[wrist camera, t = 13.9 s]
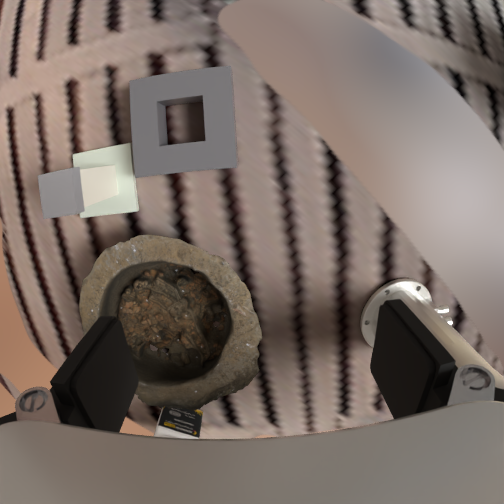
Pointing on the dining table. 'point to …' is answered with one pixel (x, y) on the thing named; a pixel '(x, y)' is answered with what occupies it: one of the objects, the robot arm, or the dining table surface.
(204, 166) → the grey square ring
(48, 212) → the plug
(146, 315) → the stone bowl
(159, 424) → the medicine bottle
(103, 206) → the coaster
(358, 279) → the dining table surface
